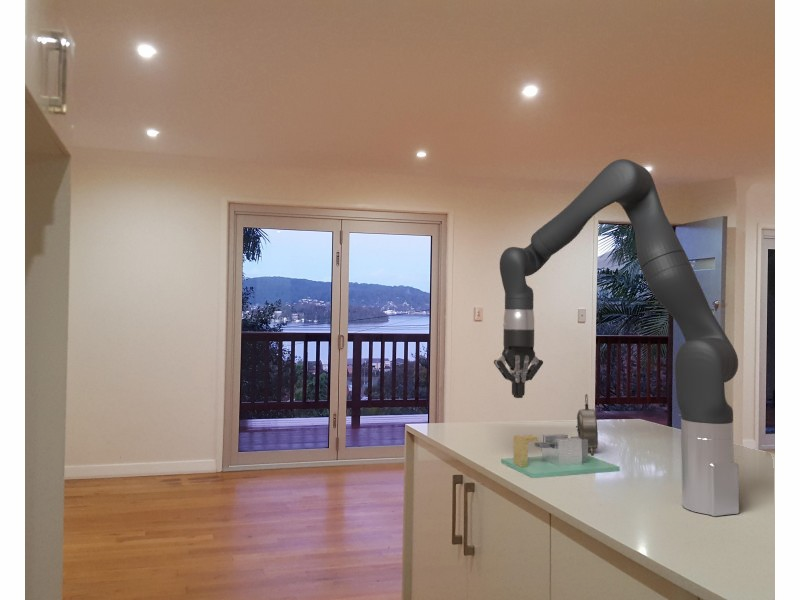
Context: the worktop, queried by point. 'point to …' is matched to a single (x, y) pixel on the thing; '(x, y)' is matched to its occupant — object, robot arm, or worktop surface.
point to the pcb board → (545, 469)
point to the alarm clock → (588, 426)
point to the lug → (522, 449)
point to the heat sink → (565, 450)
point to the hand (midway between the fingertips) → (518, 397)
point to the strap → (544, 444)
